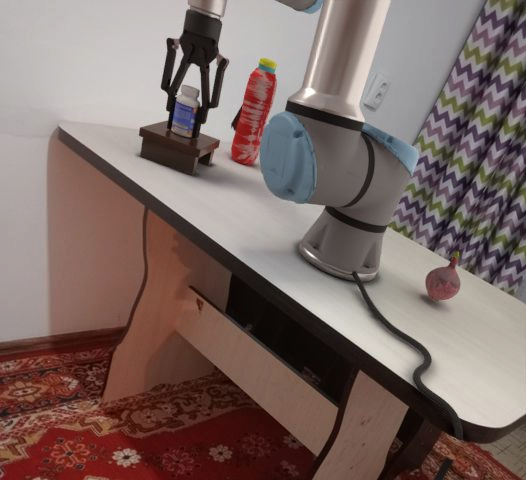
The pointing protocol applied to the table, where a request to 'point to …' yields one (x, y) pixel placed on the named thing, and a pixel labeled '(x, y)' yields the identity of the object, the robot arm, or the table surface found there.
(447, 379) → the table surface
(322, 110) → the robot arm
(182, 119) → the pill bottle
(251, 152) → the water bottle
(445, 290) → the vegetable
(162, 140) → the stand
